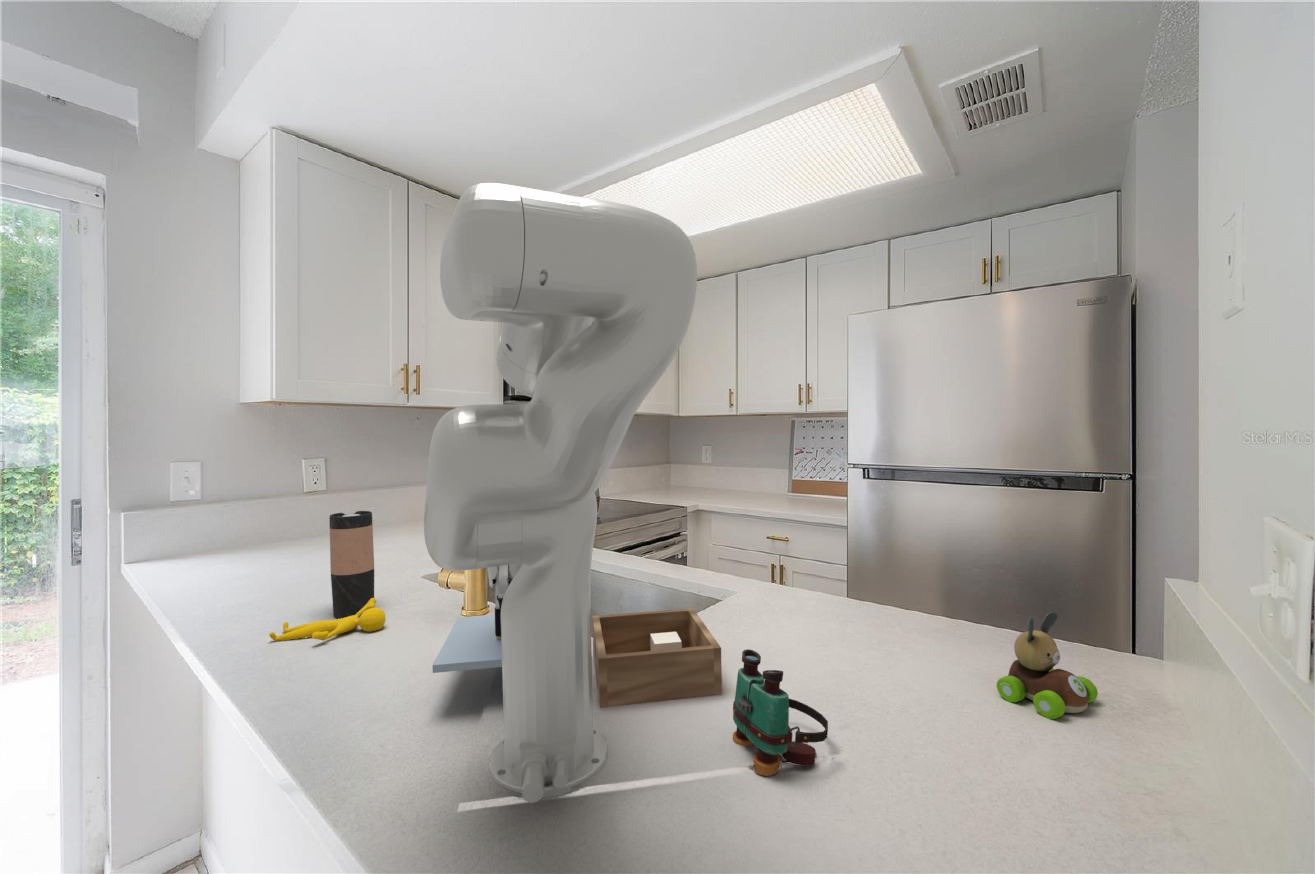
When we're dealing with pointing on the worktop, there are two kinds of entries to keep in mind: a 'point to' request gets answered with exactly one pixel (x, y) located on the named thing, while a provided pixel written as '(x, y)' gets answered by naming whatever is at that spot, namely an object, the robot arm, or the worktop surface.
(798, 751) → the binoculars
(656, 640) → the cream cube
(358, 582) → the travel mug
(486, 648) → the lid
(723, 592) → the worktop surface
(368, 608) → the figurine
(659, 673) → the box
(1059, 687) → the toy car
